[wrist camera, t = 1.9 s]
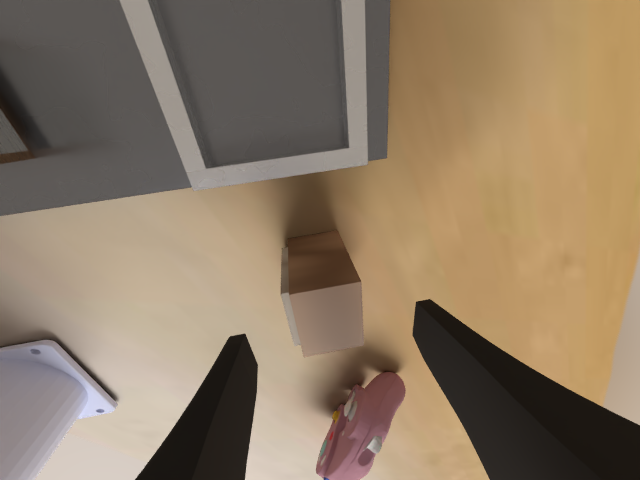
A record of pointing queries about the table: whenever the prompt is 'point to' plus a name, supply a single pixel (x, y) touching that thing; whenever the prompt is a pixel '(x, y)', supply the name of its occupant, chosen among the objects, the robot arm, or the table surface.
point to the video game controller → (360, 428)
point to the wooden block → (321, 294)
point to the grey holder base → (185, 94)
